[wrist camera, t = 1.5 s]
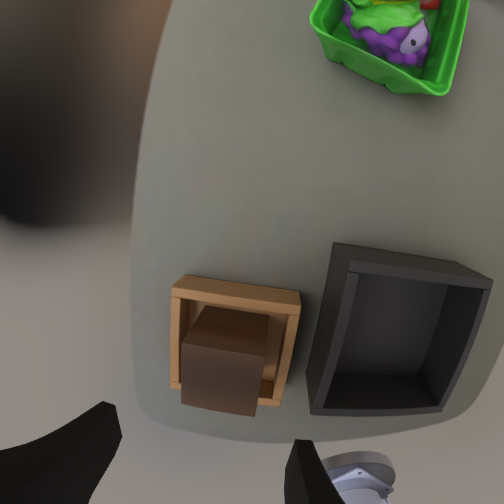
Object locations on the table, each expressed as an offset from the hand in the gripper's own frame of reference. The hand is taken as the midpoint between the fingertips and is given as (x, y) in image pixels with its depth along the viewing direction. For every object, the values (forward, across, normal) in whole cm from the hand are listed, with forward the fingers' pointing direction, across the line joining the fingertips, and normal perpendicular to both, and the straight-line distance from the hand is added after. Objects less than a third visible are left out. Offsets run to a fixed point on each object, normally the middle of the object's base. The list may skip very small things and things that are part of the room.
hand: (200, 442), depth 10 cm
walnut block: (+9, 0, 0) cm, 9 cm away
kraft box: (+10, 0, 0) cm, 10 cm away
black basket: (+10, -10, -2) cm, 14 cm away
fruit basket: (+10, -7, -22) cm, 25 cm away
